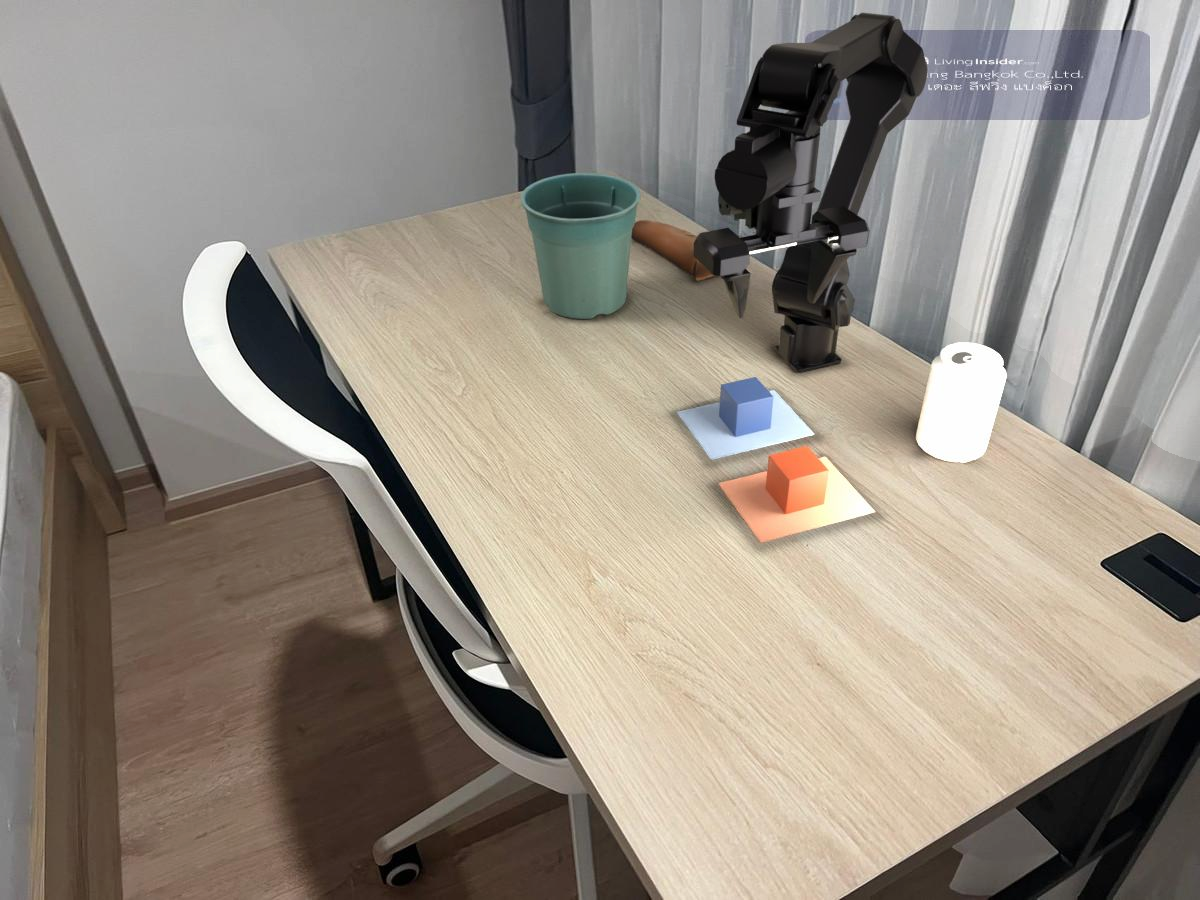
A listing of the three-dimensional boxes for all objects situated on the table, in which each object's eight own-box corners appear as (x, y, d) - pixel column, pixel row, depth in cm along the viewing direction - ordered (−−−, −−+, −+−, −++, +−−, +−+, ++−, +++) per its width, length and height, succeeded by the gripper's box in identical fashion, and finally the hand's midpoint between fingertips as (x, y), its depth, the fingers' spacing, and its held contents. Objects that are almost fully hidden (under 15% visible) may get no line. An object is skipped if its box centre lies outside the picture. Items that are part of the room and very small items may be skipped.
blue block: (753, 408, 107) (755, 376, 105) (770, 428, 104) (773, 396, 101) (718, 416, 106) (720, 384, 103) (735, 437, 103) (737, 404, 100)
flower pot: (664, 305, 130) (665, 197, 120) (568, 340, 123) (561, 229, 113) (600, 265, 141) (596, 164, 131) (509, 296, 134) (498, 191, 124)
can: (935, 420, 105) (956, 330, 98) (996, 446, 101) (1023, 354, 93) (901, 448, 101) (920, 357, 94) (963, 477, 97) (989, 383, 89)
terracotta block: (802, 478, 96) (807, 445, 94) (824, 504, 93) (829, 470, 90) (765, 488, 95) (768, 454, 93) (785, 514, 92) (789, 480, 89)
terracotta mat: (824, 460, 100) (825, 455, 99) (874, 515, 92) (875, 511, 92) (717, 487, 97) (717, 482, 96) (760, 547, 89) (760, 542, 89)
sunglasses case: (738, 266, 138) (721, 236, 133) (705, 297, 138) (687, 269, 133) (671, 227, 150) (654, 198, 146) (641, 256, 150) (623, 228, 145)
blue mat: (773, 393, 111) (774, 389, 110) (814, 438, 103) (815, 434, 103) (676, 415, 108) (676, 411, 107) (710, 463, 100) (711, 459, 100)
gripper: (826, 139, 102) (811, 266, 111) (674, 165, 97) (672, 294, 107) (881, 172, 94) (861, 305, 103) (718, 201, 89) (712, 338, 99)
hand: (775, 309), depth 103 cm, fingers open, 9 cm apart
